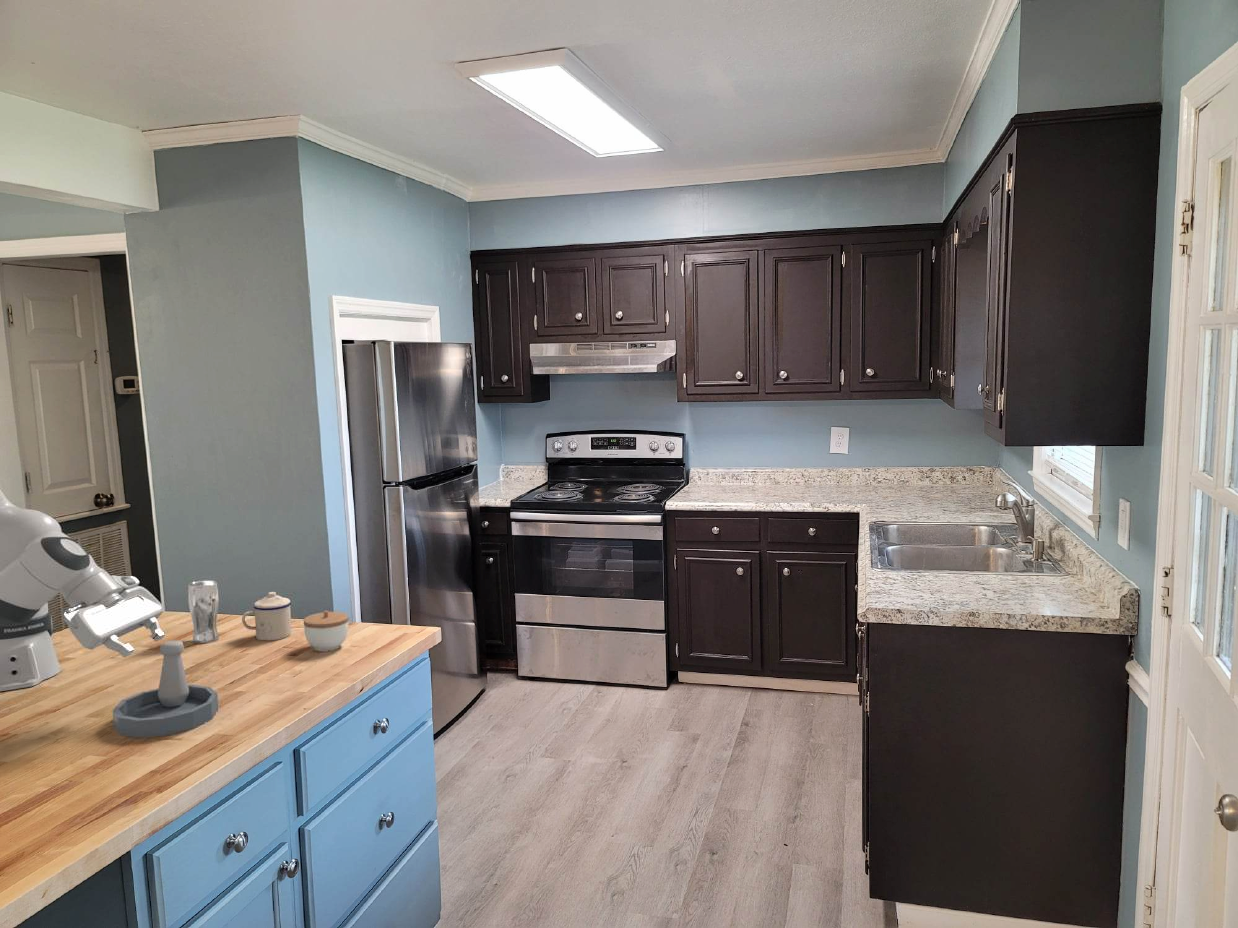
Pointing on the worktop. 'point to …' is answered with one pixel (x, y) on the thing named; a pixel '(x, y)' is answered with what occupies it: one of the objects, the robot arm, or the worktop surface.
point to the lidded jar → (326, 630)
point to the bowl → (164, 713)
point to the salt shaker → (172, 675)
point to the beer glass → (204, 610)
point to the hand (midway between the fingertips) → (145, 646)
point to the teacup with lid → (271, 618)
